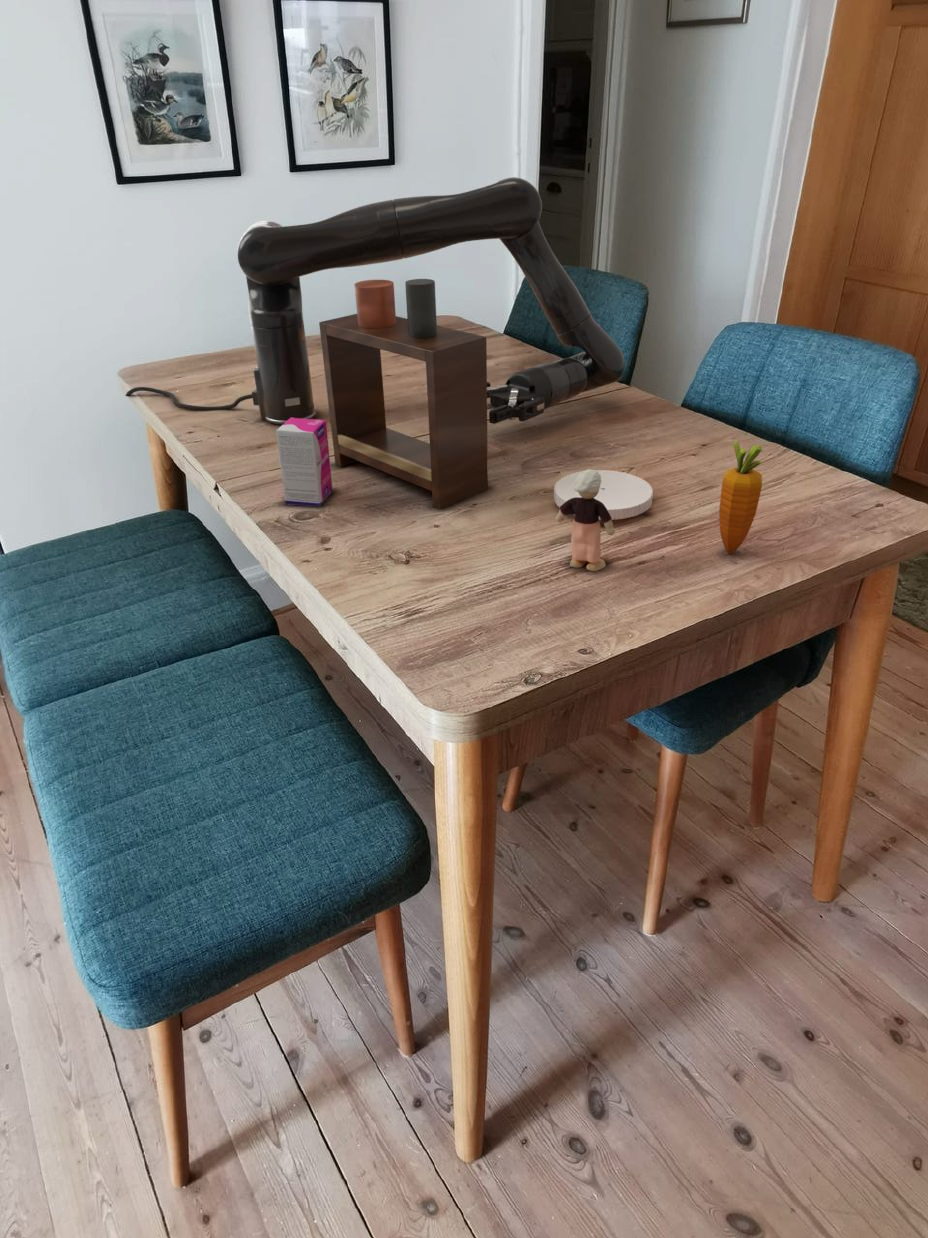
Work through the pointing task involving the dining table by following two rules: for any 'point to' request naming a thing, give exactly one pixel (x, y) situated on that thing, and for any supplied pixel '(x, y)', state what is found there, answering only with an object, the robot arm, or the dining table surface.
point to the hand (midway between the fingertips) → (472, 411)
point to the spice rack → (452, 391)
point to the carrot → (739, 498)
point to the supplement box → (304, 461)
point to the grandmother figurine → (587, 521)
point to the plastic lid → (611, 493)
